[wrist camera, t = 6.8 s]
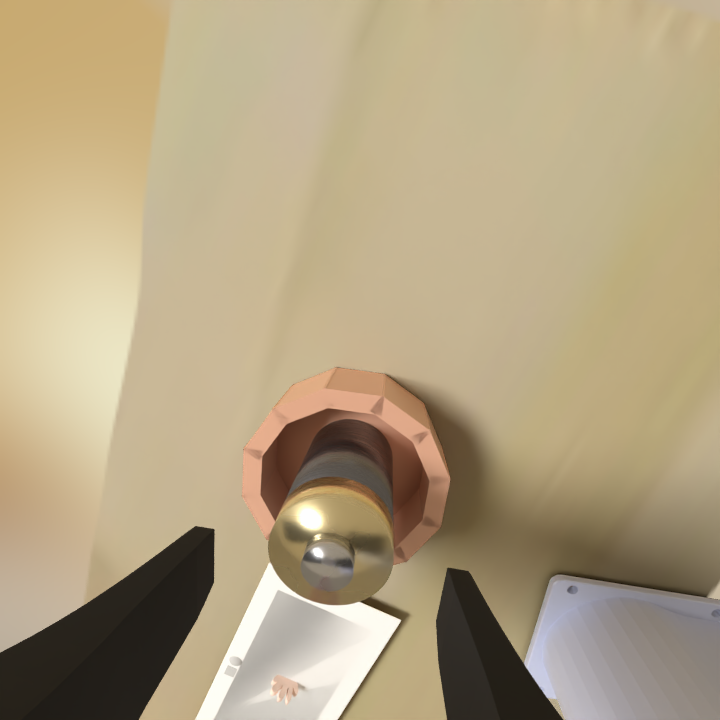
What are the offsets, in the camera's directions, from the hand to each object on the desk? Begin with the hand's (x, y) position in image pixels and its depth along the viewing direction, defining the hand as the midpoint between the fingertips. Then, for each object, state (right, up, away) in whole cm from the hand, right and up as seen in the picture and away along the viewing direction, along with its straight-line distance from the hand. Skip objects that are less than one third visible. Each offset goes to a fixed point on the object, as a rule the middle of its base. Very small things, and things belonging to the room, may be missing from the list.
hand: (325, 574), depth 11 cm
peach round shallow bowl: (+1, +2, +7) cm, 7 cm away
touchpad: (-3, -12, +12) cm, 17 cm away
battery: (+1, +2, +6) cm, 7 cm away
